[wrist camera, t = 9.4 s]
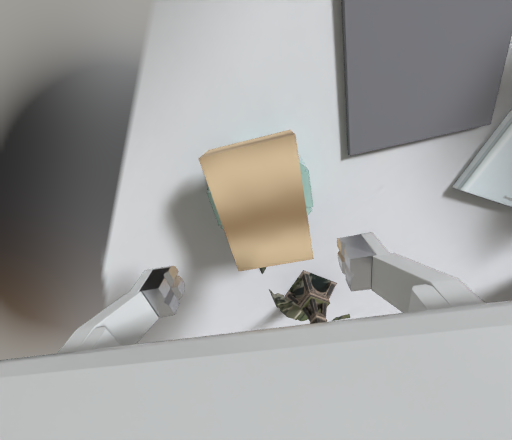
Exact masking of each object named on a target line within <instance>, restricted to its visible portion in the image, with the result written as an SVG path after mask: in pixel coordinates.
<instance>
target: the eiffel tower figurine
mask: <svg viewBox="0 0 512 440" xmlns="http://www.w3.org/2000/svg"><path fill="white" fill-rule="evenodd" d="M265 269H266V267H262V268H260V271H261V273H262V274H263V272H264V271H265ZM336 284H337V283H335V282H333V281H330V280H327V279H325V278H322V277H320V276H317V275H314V274H312V273H309V272H306V271H304V270H303V272H302V273H301V274H300V276H299V277H298V278H297V280H296V281H295V283H294V284H293V285H292V287H291V288H290V290H289V291H288V292H287V294H286V295H285V296H286V298H284V295H281V294H279V293H277V294H273V293H272V291H271V290H269V291H270V293H271V295H272V297H273V300H274V302H275V304H276V306H277V307H278V308H280V311H281V312H282V313H284V314H285V315H286V316H287V317H289V318H293V319H295V320H297V319H298V320H299V321H305V320H307V319H309V321H310V324H314V323H322V322H327V319H326V309H327V306H328V305H329V304H330V302H329V298H330V296H331V294H332V292H333V289H334V287H335V286H336ZM345 318H350V314H348V315H343V316H341V317H336V318H335V319H333V320H332V321H334V320H340V319H345Z"/></svg>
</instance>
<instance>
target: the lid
mask: <svg viewBox="0 0 512 440" xmlns="http://www.w3.org/2000/svg"><path fill="white" fill-rule="evenodd" d="M199 161H200V164H201V166H202V169H203V172H204V175H205V178H206V181H207V183H208V186H209V189H210V192H211V195H212V197H213V200H214V203H215V206H216V209H217V211H218V214H219V217H220V220H221V223H222V225H223V228H224V231H225V234H226V237H227V240H228V242H229V245H230V248H231V251H232V254H233V256H234V259H235V262H236V265H237V268H238V270H239V271H244V270H250V269H256V268H262V267H268V266H274V265H280V264H286V263H292V262H298V261H304V260H310V259H314V258H313V251H312V245H311V238H310V231H309V224H308V217H307V211H306V204H305V197H304V190H303V183H302V177H301V170H300V163H299V156H298V149H297V143H296V136H295V134H294V133H293V132H292V131H291V130H287V131H283V132H279V133H275V134H271V135H267V136H263V137H259V138H255V139H251V140H247V141H243V142H239V143H235V144H231V145H227V146H223V147H219V148H215V149H211V150H208V151H207V152H206V153H205V154H203V155H202V156H201V157H200V158H199Z"/></svg>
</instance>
